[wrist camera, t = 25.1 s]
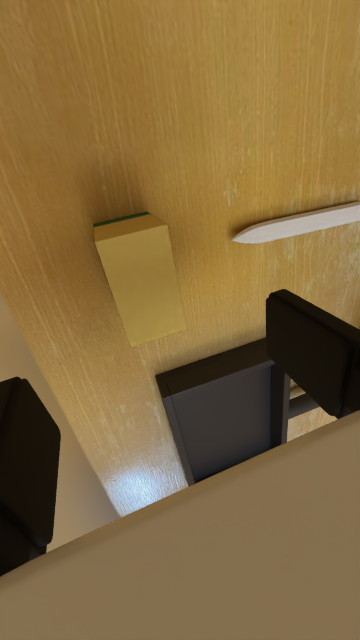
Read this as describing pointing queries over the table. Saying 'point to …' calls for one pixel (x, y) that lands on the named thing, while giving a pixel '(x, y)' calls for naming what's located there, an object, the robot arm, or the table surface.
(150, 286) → the sponge
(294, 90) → the table surface
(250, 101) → the table surface
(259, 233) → the pen
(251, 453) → the pan
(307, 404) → the pan handle
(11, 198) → the table surface
